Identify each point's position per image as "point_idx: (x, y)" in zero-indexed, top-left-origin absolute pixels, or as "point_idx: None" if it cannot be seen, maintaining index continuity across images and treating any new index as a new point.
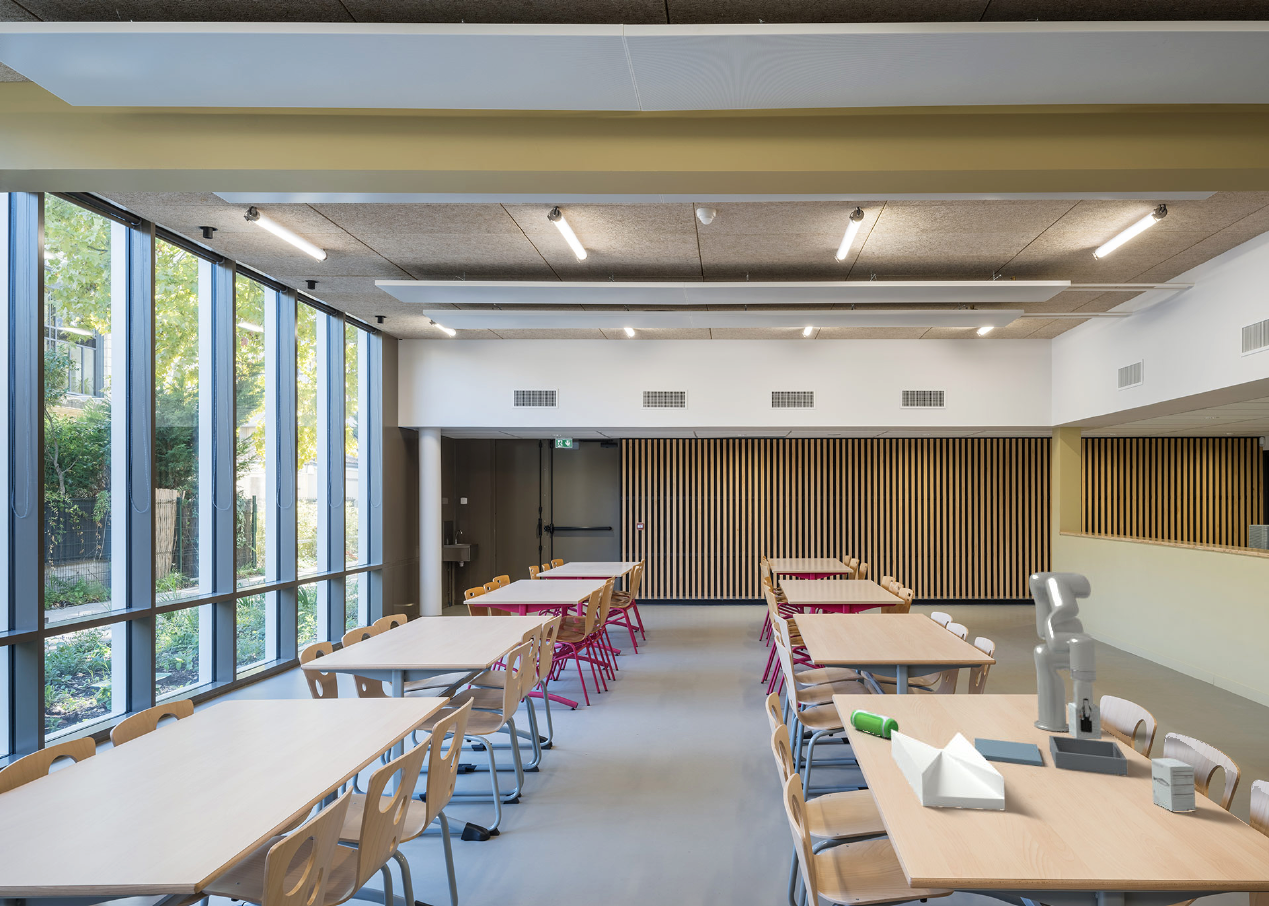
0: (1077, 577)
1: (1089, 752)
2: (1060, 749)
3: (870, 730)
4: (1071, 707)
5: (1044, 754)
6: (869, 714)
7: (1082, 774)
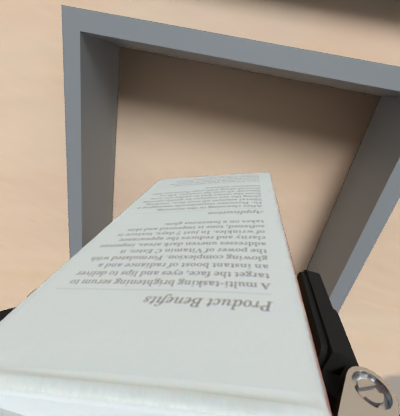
0: None
1: (323, 243)
2: (372, 132)
3: None
4: (137, 336)
5: (323, 27)
6: None
7: (60, 121)
